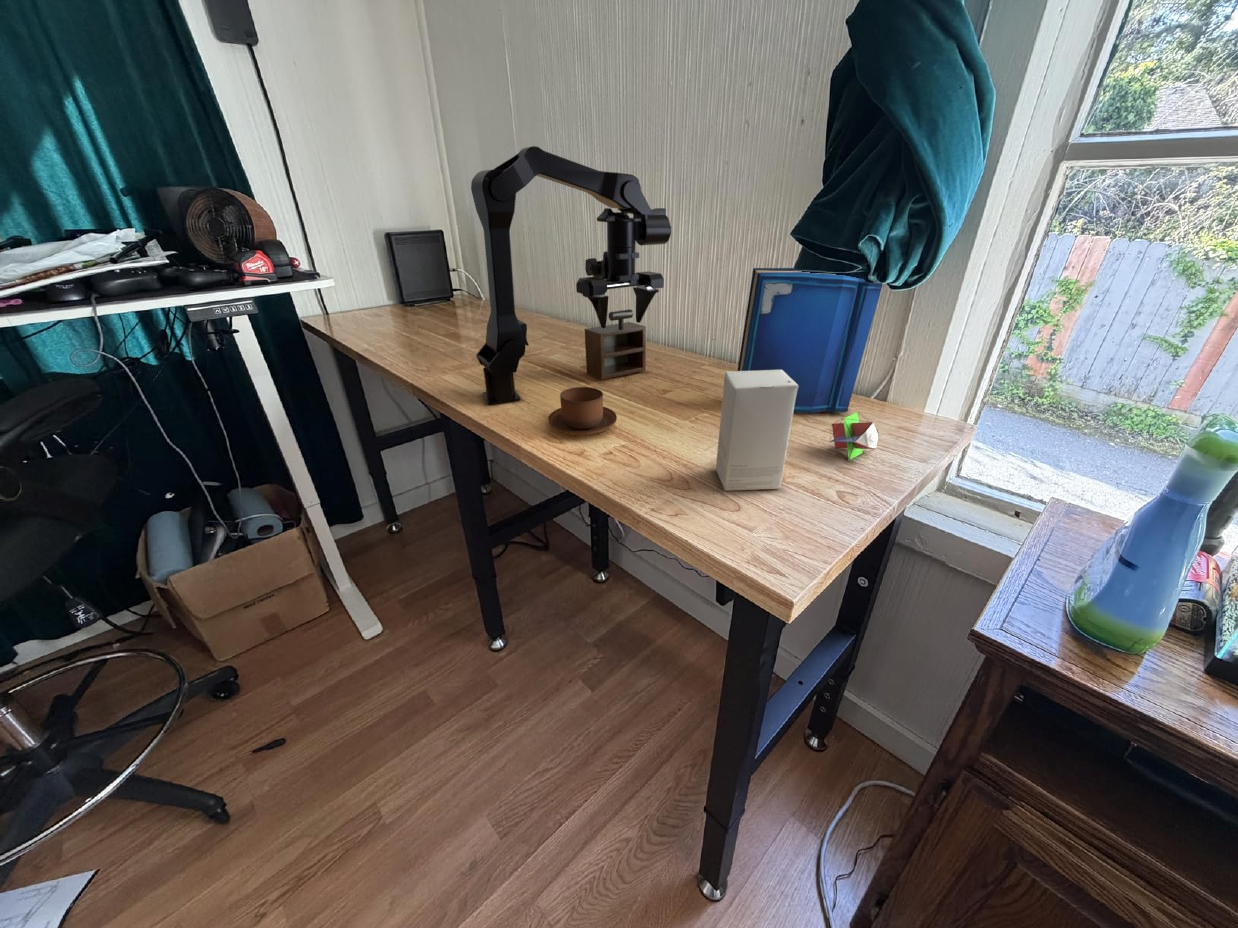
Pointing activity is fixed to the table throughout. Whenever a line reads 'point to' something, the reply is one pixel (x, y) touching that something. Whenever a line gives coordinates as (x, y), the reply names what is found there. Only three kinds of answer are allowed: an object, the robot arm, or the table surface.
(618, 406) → the table surface
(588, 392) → the cup and saucer
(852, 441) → the geometric puzzle
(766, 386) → the cosmetic box
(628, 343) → the shelf
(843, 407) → the book
